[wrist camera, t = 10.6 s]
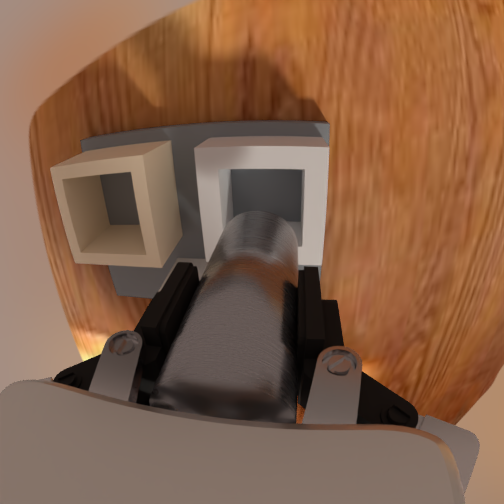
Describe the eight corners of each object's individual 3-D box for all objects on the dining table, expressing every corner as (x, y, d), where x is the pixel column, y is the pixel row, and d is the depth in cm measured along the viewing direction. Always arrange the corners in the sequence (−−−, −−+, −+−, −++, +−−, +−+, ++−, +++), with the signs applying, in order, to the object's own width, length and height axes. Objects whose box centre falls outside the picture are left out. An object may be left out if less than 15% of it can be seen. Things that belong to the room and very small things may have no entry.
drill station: (327, 121, 21) (340, 133, 16) (316, 297, 29) (319, 347, 24) (89, 137, 23) (42, 155, 18) (123, 286, 31) (95, 326, 26)
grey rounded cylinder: (299, 210, 15) (302, 385, 6) (296, 280, 17) (291, 455, 8) (217, 209, 15) (130, 366, 7) (223, 277, 17) (168, 441, 9)
